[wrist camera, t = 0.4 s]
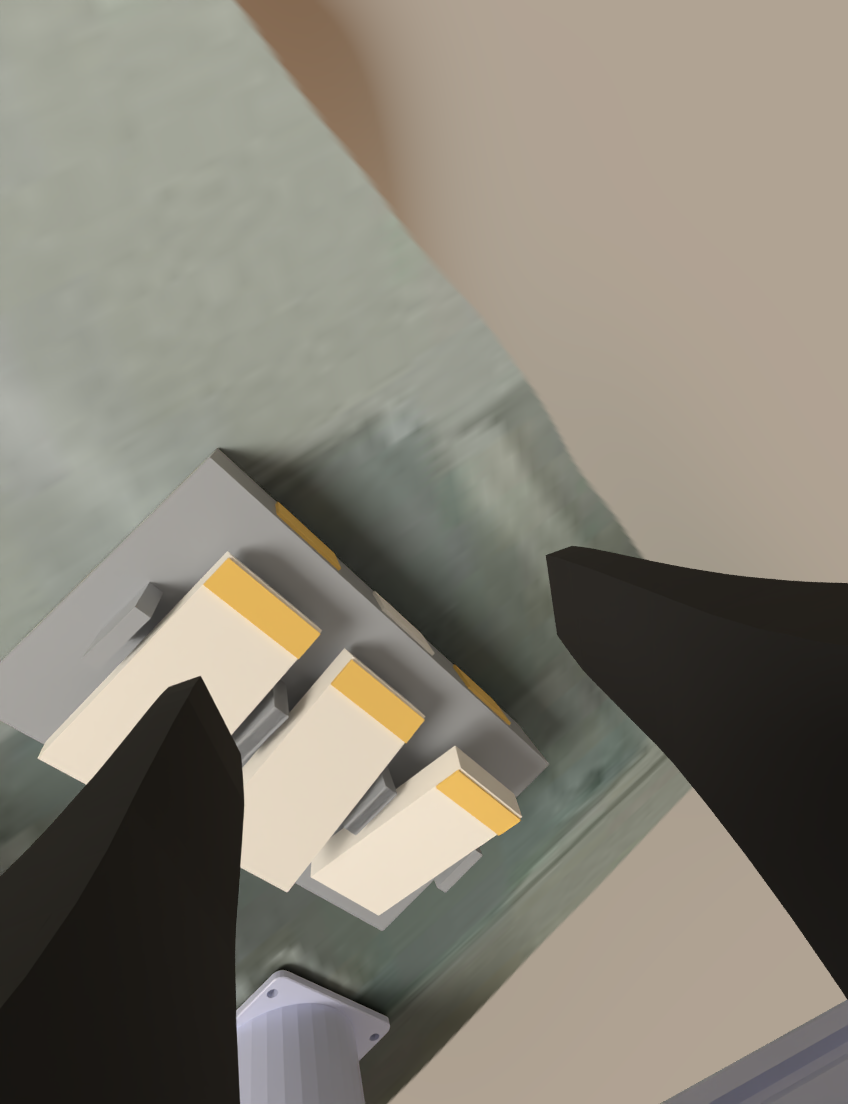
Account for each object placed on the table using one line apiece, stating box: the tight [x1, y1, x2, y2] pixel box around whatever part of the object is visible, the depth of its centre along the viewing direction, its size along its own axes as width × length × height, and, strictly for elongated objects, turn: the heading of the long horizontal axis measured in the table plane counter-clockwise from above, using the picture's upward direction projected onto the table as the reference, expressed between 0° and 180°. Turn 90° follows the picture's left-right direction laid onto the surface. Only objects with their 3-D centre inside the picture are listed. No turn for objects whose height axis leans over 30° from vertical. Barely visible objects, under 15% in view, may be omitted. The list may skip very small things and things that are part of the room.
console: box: [0, 448, 549, 931], centre depth 19 cm, size 10×18×5 cm, turn 43°
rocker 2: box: [240, 648, 426, 892], centre depth 17 cm, size 7×4×1 cm, turn 134°
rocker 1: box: [38, 551, 322, 785], centre depth 15 cm, size 7×4×1 cm, turn 134°
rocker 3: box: [310, 746, 522, 916], centre depth 19 cm, size 7×4×1 cm, turn 132°
